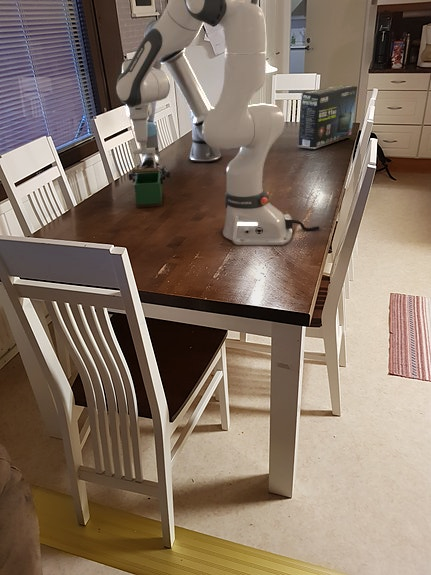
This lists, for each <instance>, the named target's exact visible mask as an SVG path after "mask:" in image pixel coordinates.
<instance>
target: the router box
mask: <svg viewBox="0 0 431 575" xmlns="http://www.w3.org/2000/svg"><path fill="white" fill-rule="evenodd" d="M357 93H358V86H356V85H350V84H339V85H338V84H337V85H334V86H328V87H324V88H318V89H314V90H309V91H304V92H301V93H300V109H299V110H300V111H299V124H298V137H297V146H298V145H302V146H307V147H317V146H320V145H323V144H325V143H328V142H331V141H333V140H336V139H338V138H341V137H344V136H347V135H351V136H352V133H353V132H352V131H353V125H354V115H355V109H356V99H357ZM311 151H313V150H312V149H311Z"/></svg>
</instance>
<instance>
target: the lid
mask: <svg viewBox="0 0 431 575" xmlns="http://www.w3.org/2000/svg"><path fill="white" fill-rule="evenodd" d="M147 153H153V160H154V168H146V169H140V168H138V163H137V155H142V154H147ZM132 154H133V162H134V167H135V169H134V168H133V169H131V171H132V172H134V173H148V172H160V169H159V168H156V160H155V148H146V151H142V150H141V147H140V148H132ZM137 168H138V169H137Z"/></svg>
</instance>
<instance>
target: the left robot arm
mask: <svg viewBox="0 0 431 575" xmlns="http://www.w3.org/2000/svg"><path fill="white" fill-rule="evenodd" d="M158 20H159V19H153V20H151V21H150V22H149V23H147V26H146V28H145V30H144V34H143V38H144V37H145V36H146V35H147V33H148V32H149V31H150V30H151V29H152V28H153V27H154V26H155V25H156V23H157V22H158ZM185 50H186V48H184V49H181V50H178V51H176V52H173V53H170V54H168V55H166V56H164V57H162V58H160V59H159V60H158V61H157V62H156V63H155V64H154V65H153V68H156V69H158V70H162V66H163V65H164V66H166V68H167V70H168V72H169V74H170V75H171V77H172V79H173V81H174V83H175V84H176V86H177V88H178V90H179V92H180V94H181V96H182V97H183V99H184V101H185V103H186V105H187V106H188V109H189V110H190V123H191V124H190V125H191V137H192V145H191V148H190V153H189V161H191V162H192V163H193V162H194V163H197V164H207V163H208V164H209V163H214V162H218V161H220V160H221V156H222V155H221V151H220V149H213V148H211V147H210V146H209V145H208V144H207V143H206V141H205V140H204V137H203V133H202V126H203V122H204V119H205V118H206V116H207V115H208V114H209V113H210V112H211V111H212V110H213V108H214V107H215V106H214V107H213V106H211V104H210V102H209V100H208V98H207V96H206V94H205V92H204V90H203V89H202V86H201V84H200V83H199V81H198V79H197V77H196V75H195V73H194V71H193V69H192V67H191V65H190V63H189V60H188V59H187V57H186V56H185ZM151 106H152V114H151V115H150V116H149V120H148V122H147V129H148V130H147V142H146V148H155V160H156V168H159V169H160V181H161V186H162V185H163V184H164V181H166V178H167V179H170V178H171V172H170V170H169V169H168V168H167V165H163V166H160V161H161V156H160V147H159V138H158V129H157V124H156V122H155V121H154V120H155V114H156V108H157V101H155V102H151ZM141 155H142V162H141V167H140V168H138V167H137V169H146V168H154V160H153V153H147V154H141ZM133 169H135V166H134V167H133ZM148 173H150V172H148ZM136 174H137V173H134V172H132V170H131V171H130V172H129V173H128V181H132V183H135V178H136Z"/></svg>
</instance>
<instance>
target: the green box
mask: <svg viewBox="0 0 431 575" xmlns="http://www.w3.org/2000/svg"><path fill="white" fill-rule="evenodd" d="M133 183H134V184H133V186H134V194H135V202H136V208H138V209H139V208H140V209H141V208H153V207H162V206H163V187H162V185H161V181H160V172H150V173H137V174H136V178H135V182H133Z"/></svg>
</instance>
